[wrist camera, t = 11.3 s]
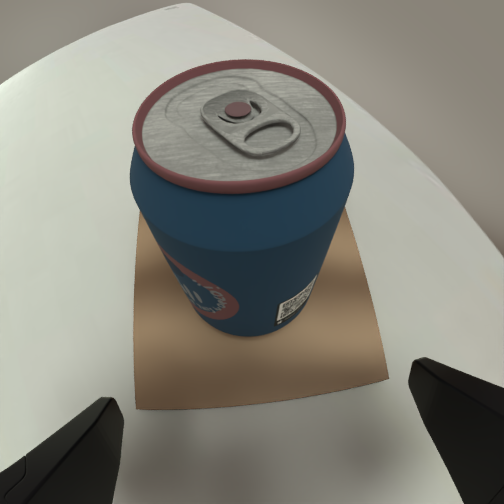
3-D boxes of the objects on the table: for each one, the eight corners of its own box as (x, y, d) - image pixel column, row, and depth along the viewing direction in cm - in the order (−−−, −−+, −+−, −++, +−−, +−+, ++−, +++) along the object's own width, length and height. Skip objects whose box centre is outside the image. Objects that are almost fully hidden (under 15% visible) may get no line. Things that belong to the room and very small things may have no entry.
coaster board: (382, 380, 16) (389, 378, 15) (142, 409, 16) (136, 409, 15) (332, 188, 23) (335, 179, 22) (144, 208, 22) (140, 200, 21)
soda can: (168, 273, 19) (83, 110, 8) (259, 213, 20) (258, 37, 10) (237, 367, 16) (193, 275, 5) (333, 291, 18) (416, 127, 7)
